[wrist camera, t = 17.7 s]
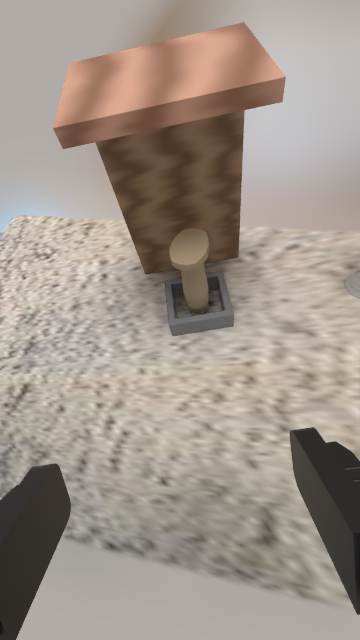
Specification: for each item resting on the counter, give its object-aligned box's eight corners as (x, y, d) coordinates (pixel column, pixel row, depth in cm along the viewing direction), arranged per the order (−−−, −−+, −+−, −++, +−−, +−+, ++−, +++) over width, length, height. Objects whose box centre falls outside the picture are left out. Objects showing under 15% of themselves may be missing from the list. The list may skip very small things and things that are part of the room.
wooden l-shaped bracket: (148, 327, 49) (53, 128, 22) (144, 267, 56) (69, 63, 30) (253, 309, 48) (285, 76, 21) (236, 250, 55) (244, 22, 28)
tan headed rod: (180, 323, 49) (164, 262, 36) (190, 292, 52) (177, 226, 39) (208, 327, 47) (201, 266, 35) (216, 296, 50) (212, 229, 38)
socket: (172, 336, 48) (169, 325, 45) (168, 292, 52) (164, 280, 49) (233, 326, 47) (233, 314, 44) (222, 283, 52) (222, 270, 49)
